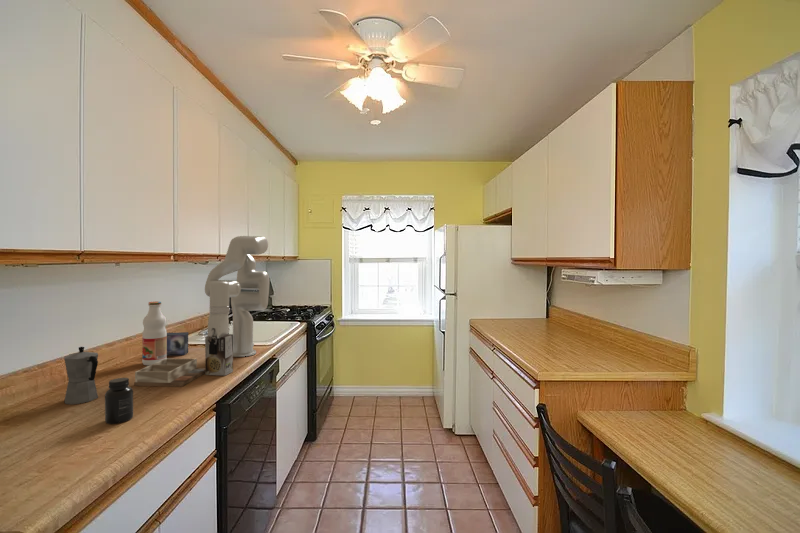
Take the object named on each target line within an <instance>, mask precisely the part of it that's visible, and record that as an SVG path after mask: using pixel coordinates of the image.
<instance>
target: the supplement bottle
mask: <svg viewBox="0 0 800 533" xmlns="http://www.w3.org/2000/svg"><path fill="white" fill-rule="evenodd" d="M129 385H130V380H129V377H117V378H114V379H111V380H109V382H108V389H107V391H106V392H105V393H104V416H105V418H104V420H105V423H107V424H109V425H115V424H116V425H117V424H121V423H124V422H127V421H130V420H131V419H132V418H133V417H134V389H133V388H132V386H129Z"/></svg>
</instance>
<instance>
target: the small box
mask: <svg viewBox="0 0 800 533" xmlns="http://www.w3.org/2000/svg"><path fill="white" fill-rule="evenodd" d="M187 354H189V332H186V331H185V332H167V356H168V357H174V356H186V355H187Z"/></svg>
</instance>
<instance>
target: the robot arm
mask: <svg viewBox="0 0 800 533" xmlns="http://www.w3.org/2000/svg"><path fill="white" fill-rule="evenodd" d="M268 247H269V242H268V239H267V238H266V237H265V236H259V235H256V236H255V235H253V236H252V235H243V236H242V235H240V236H239V235H238V236H235V237H233V238H232V239H231V240H230V242H229V244H228V248H227V250H226V254H225V257H224V260H223V261H221V262H220V263H219V264H217V265H215V266H214V267H213V268H212V269H211V270H210V272H209V273H208V276H207V278H206V281H205V285H204V294H206V296H207V297H209V316H208V323H207V335H206V337H208V342H209V354H217V351H218V344H217V341H218V339H220V338H221V337H223V336H224V335H226V334H230V331H231V330H230V321H229V318H230V317H229V314H230V306H231V310H232V334H233V358H241V357H242V358H244V357H245V356H246V357H249V356H251V357H252V356H253V355H256V354H257V350H256V349H254V345H255V343H254V318H253V315H252V314H251V313H250V311H265V310H266V309H267V308H268V304H269V295H270V282H271V281H270V276H269V273H268V272H266V271H265V270H264V271H263V270H256V267H257V266H256V265H257V263H256V262H257V261H256V259H255V258H254V257H253V256H254V255H257V256H258V255H262V254H265V253H266V252H267V251H268ZM236 272H237V273H236ZM233 273H236V280H232V279H231V280H229V279H221V278H222V277H224V276H227V275H229V274H233ZM242 290H255V291H242ZM256 290H258V291H256ZM214 339H215V341H214Z"/></svg>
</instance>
